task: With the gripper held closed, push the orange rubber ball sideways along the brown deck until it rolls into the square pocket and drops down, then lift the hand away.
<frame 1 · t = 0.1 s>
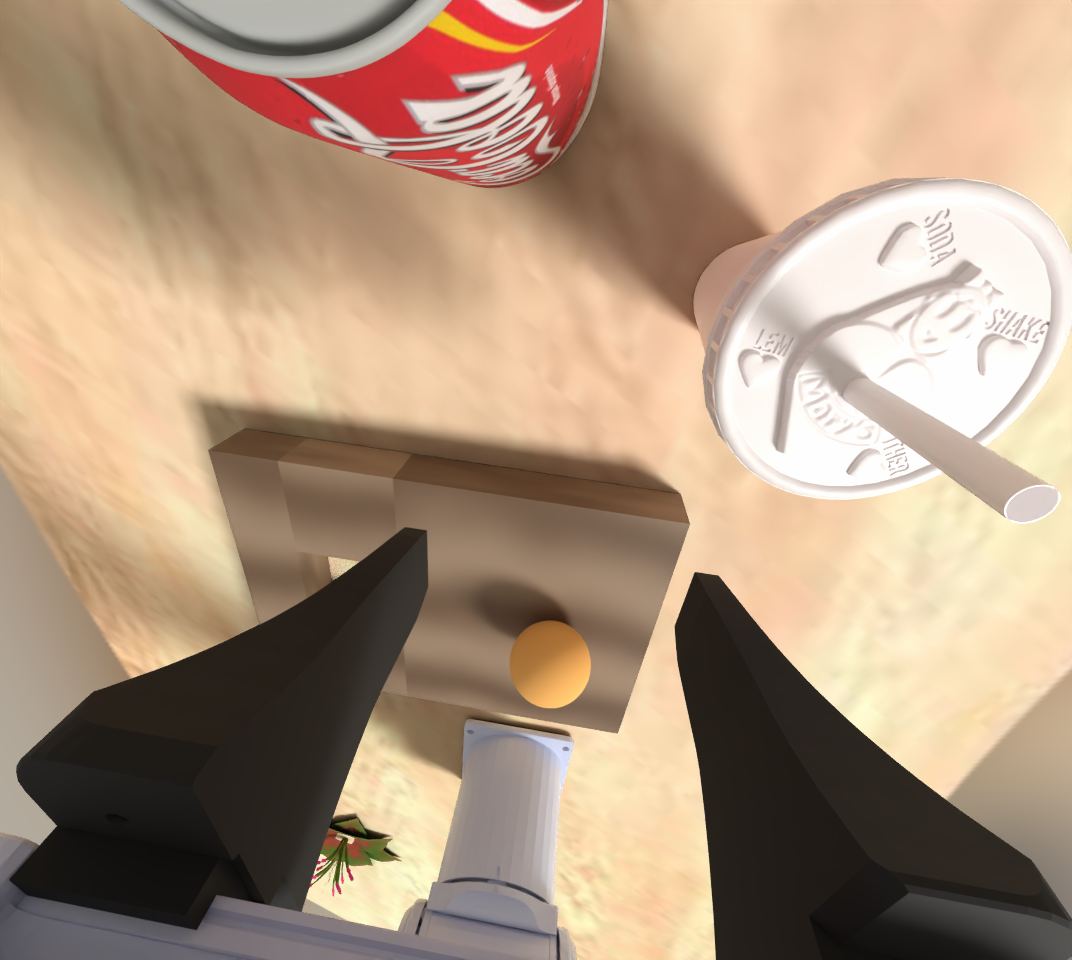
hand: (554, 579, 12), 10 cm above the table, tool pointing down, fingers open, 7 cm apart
smoothie: (742, 295, 17), on the table
ball: (550, 662, 22), point 4 cm above the table, touching deck
lily flower: (347, 831, 47), on the table
deck: (455, 580, 26), on the table
soda can: (496, 62, 15), on the table
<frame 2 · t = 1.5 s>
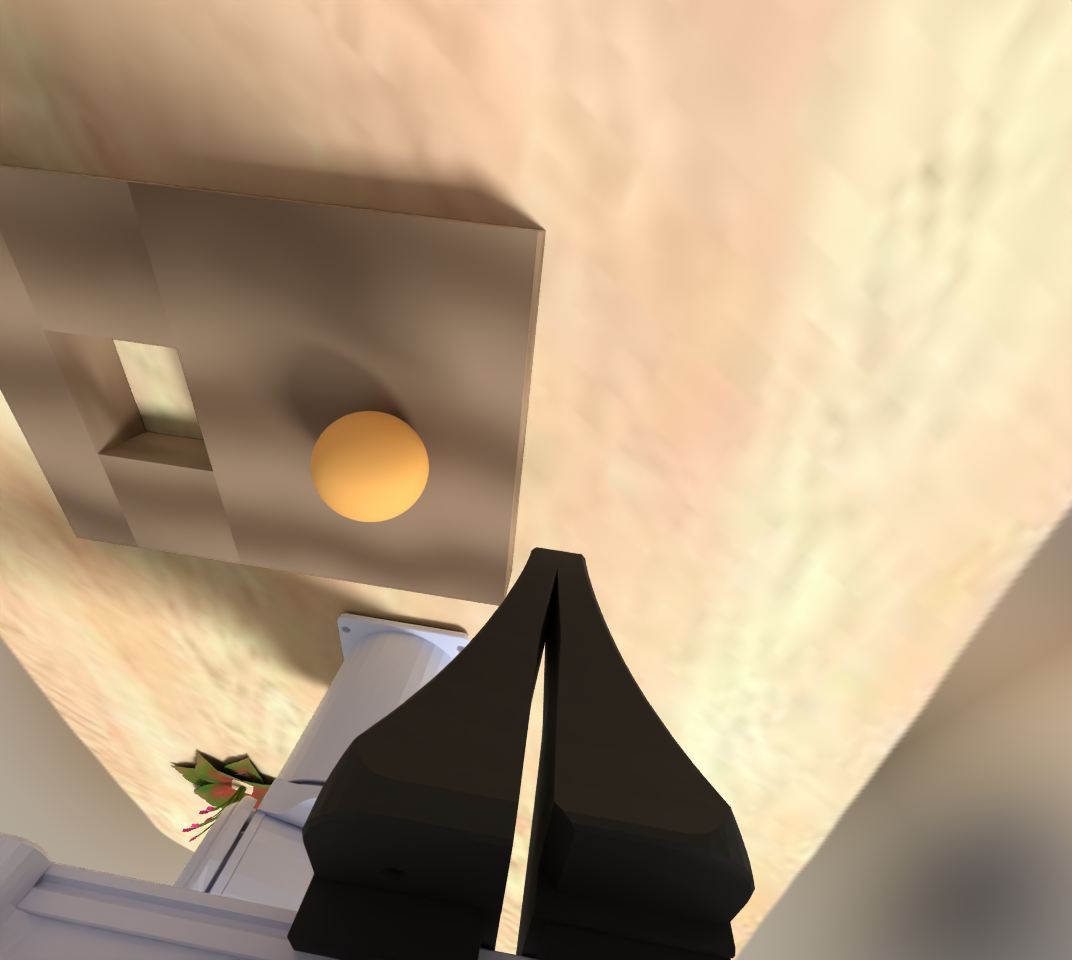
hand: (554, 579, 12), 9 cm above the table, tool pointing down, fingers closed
ball: (372, 466, 16), point 4 cm above the table, touching deck
lily flower: (247, 779, 41), on the table
deck: (286, 401, 21), on the table
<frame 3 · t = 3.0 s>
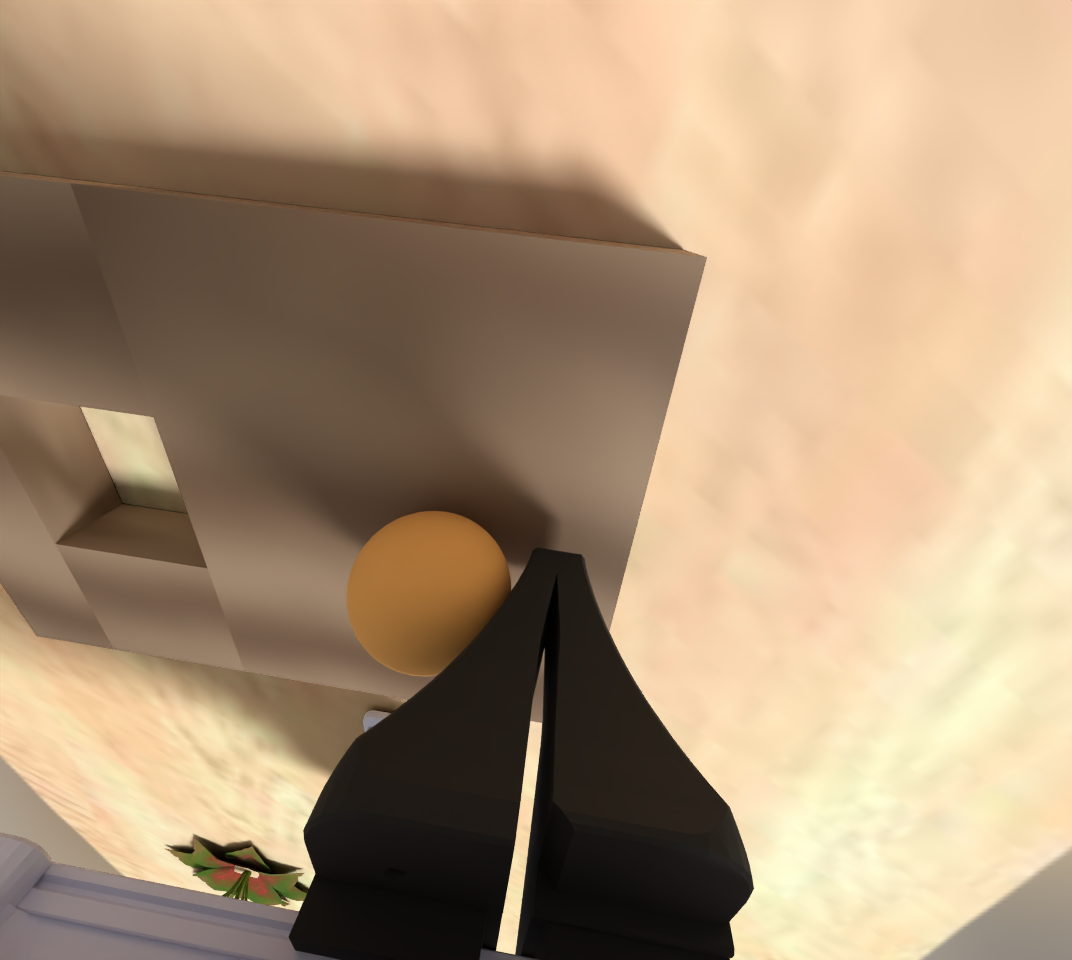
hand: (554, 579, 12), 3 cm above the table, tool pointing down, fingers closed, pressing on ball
ball: (432, 590, 11), point 4 cm above the table, touching deck, gripper
lily flower: (252, 861, 36), on the table
deck: (303, 471, 16), on the table
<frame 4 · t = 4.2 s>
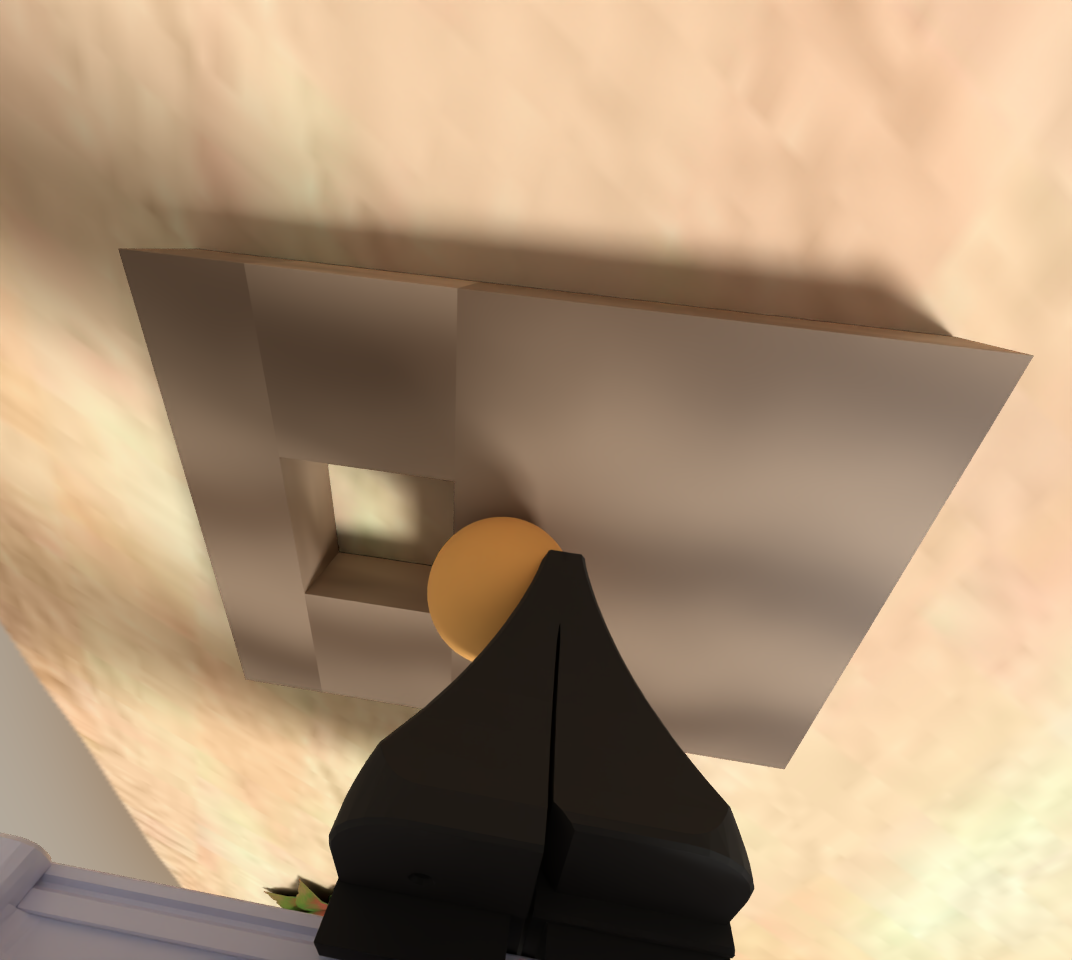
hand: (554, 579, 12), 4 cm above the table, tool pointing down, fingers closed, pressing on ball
ball: (501, 588, 13), point 4 cm above the table, tilted 165°, touching deck, gripper
lily flower: (348, 903, 35), on the table
deck: (532, 523, 17), on the table
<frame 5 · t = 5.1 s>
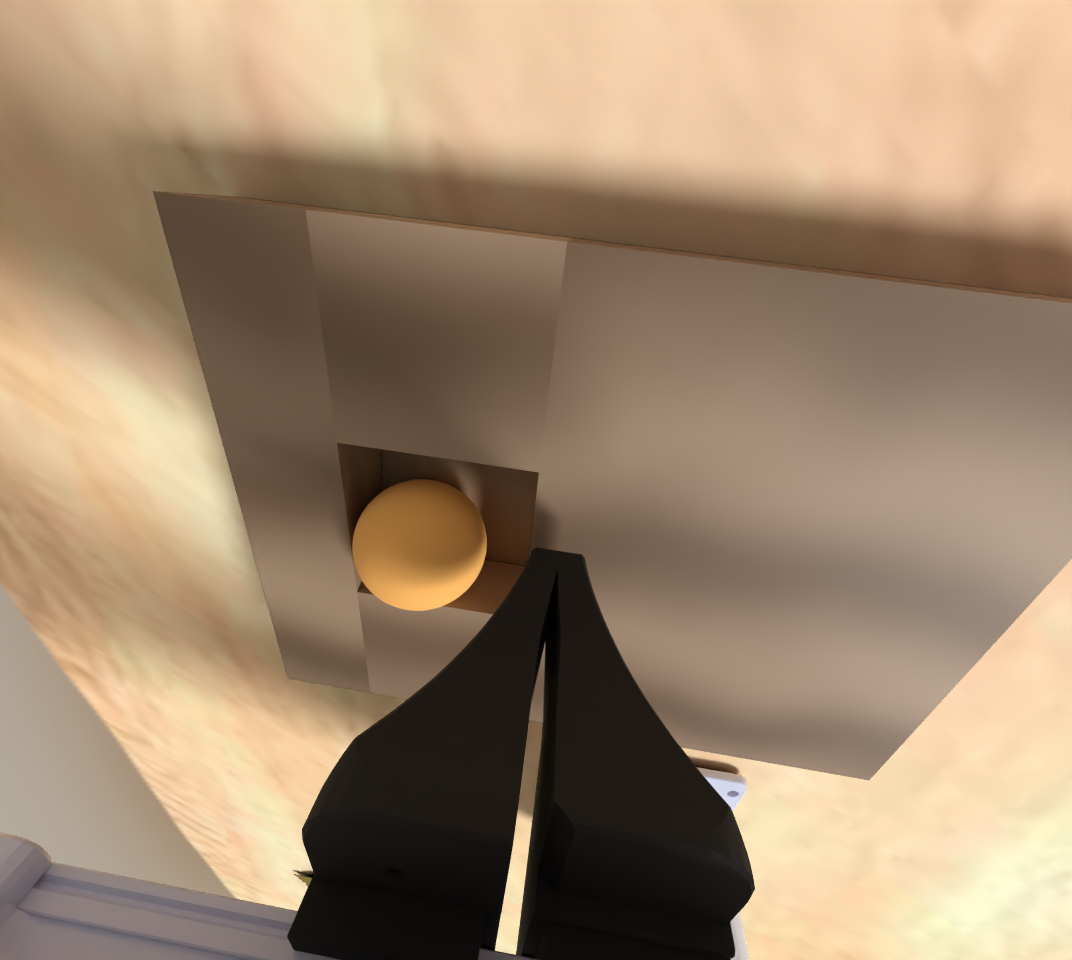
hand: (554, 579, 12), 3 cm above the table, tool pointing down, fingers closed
ball: (422, 543, 14), point 2 cm above the table, tilted 18°
deck: (606, 516, 15), on the table
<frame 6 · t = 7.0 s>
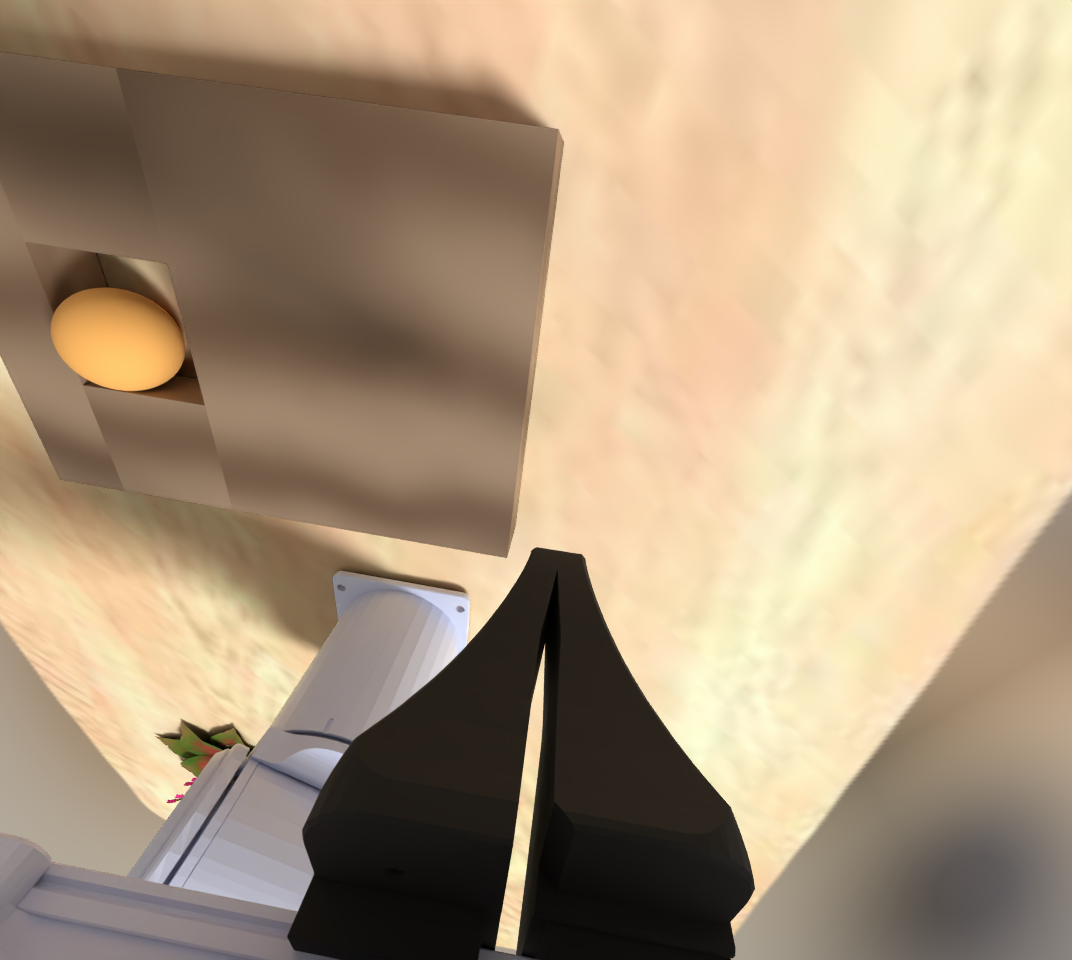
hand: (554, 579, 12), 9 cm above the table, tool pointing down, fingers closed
ball: (122, 340, 18), point 2 cm above the table, tilted 17°
lily flower: (235, 752, 40), on the table
deck: (283, 335, 19), on the table
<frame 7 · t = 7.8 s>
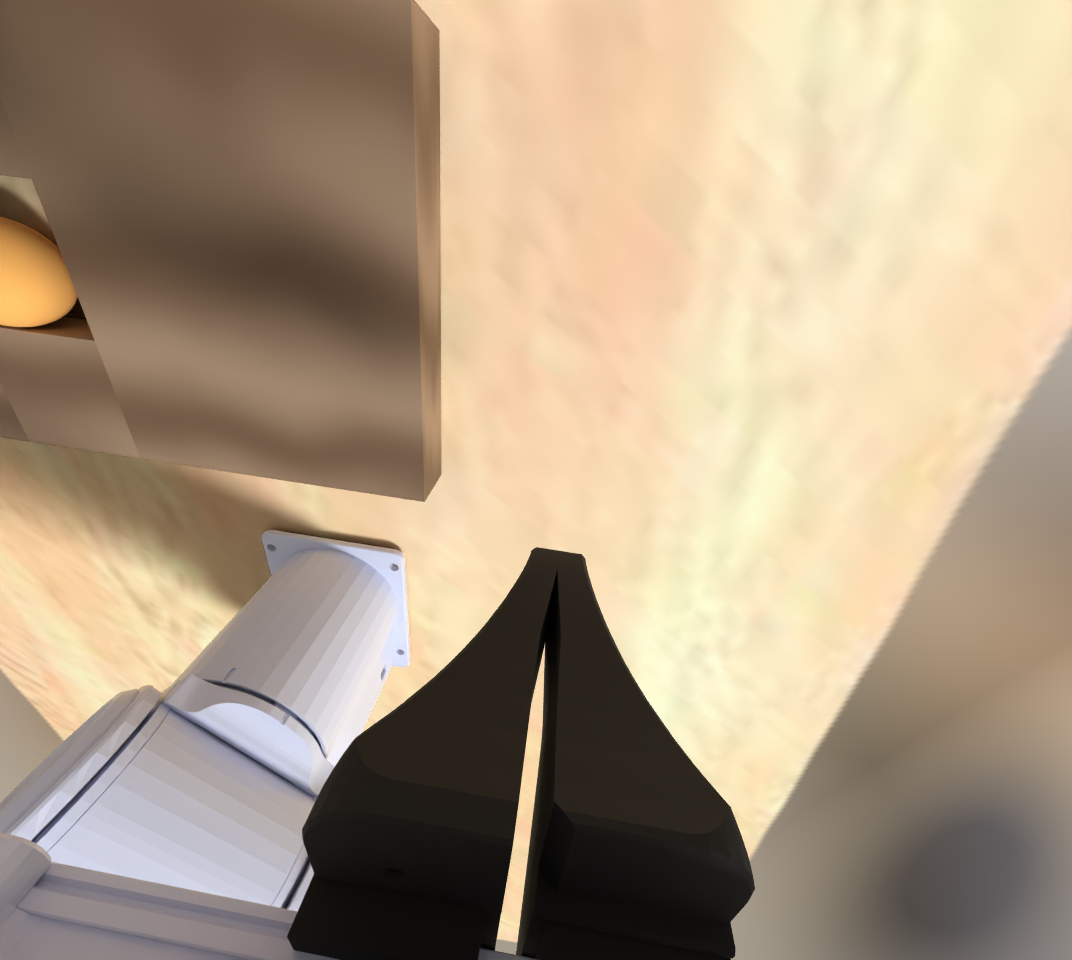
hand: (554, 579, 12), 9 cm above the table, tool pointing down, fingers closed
ball: (5, 272, 17), point 2 cm above the table, tilted 16°
deck: (179, 268, 19), on the table
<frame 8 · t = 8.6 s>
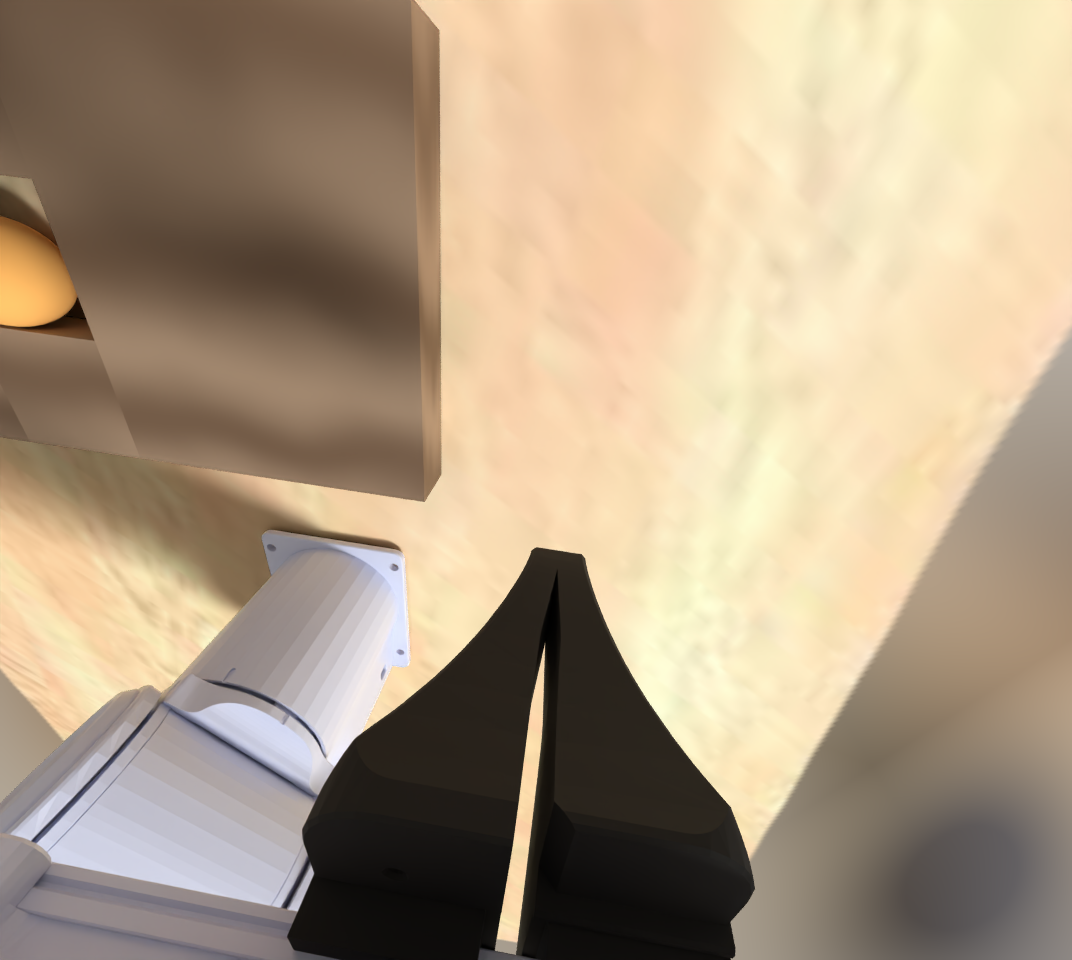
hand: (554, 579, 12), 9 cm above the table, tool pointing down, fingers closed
ball: (4, 272, 17), point 2 cm above the table, tilted 16°
deck: (179, 268, 19), on the table
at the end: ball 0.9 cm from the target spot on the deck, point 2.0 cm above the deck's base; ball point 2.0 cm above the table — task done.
